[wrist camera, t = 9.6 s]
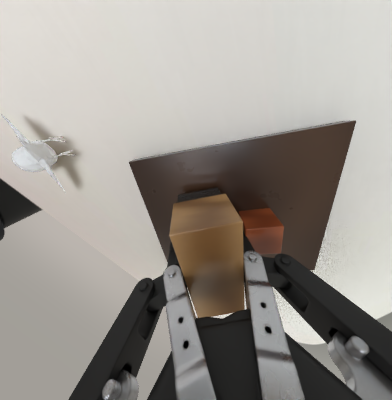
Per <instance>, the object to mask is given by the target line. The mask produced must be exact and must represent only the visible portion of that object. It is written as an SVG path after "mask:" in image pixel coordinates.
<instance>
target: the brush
mask: <svg viewBox="0 0 392 400" xmlns="http://www.w3.org/2000/svg"><path fill="white" fill-rule="evenodd" d="M169 236H170V239H171V242H172V245H173V248H174V250H175V253H176V256H177V259H178V262H179V265H180V268H181V270H182V273H183V276H184V279H185V282H186V285H187V287H188V290H189V293H190V296H191V299H192V302H193V304H194V307H195V310H196V313H197V316H198V318H202V317H212V316H218V315H223V314H229V313H234V312H236V311H240V310H244V255H243V221H242V219H241V218H240V216H239V214H238V213H237V211H236V210H235V208H234V206H233V205H232V203H231V202H230V200H229V198H228V197H227V195H226V194H221V193H220V191H219V189H218V187H216V188H211V189H206V190H201V191H195V192H190V193H185V194H180V195H178V199H177V203H174V204H173V210H172V218H171V226H170V233H169Z"/></svg>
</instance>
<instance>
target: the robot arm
mask: <svg viewBox="0 0 392 400" xmlns="http://www.w3.org/2000/svg"><path fill="white" fill-rule="evenodd" d="M243 255H244V287H245V296H246V306H247V309H246V310H240V311H236V312H235V313H233V314H231V315H229V316H227V317H225V318H223V319H220V318H213V317H202V318H196V316H195V313H194V310H193V307H192V303H191V300H190V296H189V293H188V290H187V285H186V282H185V279H184V276H183V273H182V270H181V268H180V265H179V262H178V259H177V256H176V253H175V250H174V248H173V245H172V242H171V243H170V249H169V257H168V266H167V268H166V269H165V271H164V273H163V275H161V276H160V277H158V278H156V279H154V280H152V279H150V278H144V279H142V280H141V281H139V282H138V284H137V285H136V286H135V288H134V290H133V291H132V293H131V295H130V297H129V298H128V300H127V302H126V303H125V305H124V307H123V308H122V310H121V312H120V313H119V315H118V317H117V319H116V320H115V322H114V324H113V325H112V327H111V329H110V330H109V332H108V334H107V335H106V337H105V339H104V340H103V342H102V344H101V346H100V347H99V349H98V351H97V353H96V354H95V356H94V357H93V359H92V361H91V363H90V364H89V366H88V368H87V369H86V371H85V373H84V374H83V376H82V378H81V379H80V381H79V383H78V385H77V386H76V388H75V390H74V391H73V393H72V395H71V396H70V398H69V400H137V397H138V390H139V385H138V381H137V379H136V376H137V374H138V371H139V369H140V366H141V363H142V361H143V358H144V356H145V353H146V350H147V348H148V345H149V343H150V340H151V337H152V334H153V332H154V329H155V327H156V324H157V322H158V319H159V316H160V314H161V311H162V309H163V307H164V306H166V312H167V319H168V326H169V334H170V341H171V348H172V351H171V353H170V355H169V357H168V360H167V361H166V363H165V365H164V367H163V369H162V371H161V373H160V375H159V377H158V379H157V381H156V383H155V385H154V387H153V389H152V391H151V393H150V395H149V397H148V399H147V400H392V332H391V331H390V330H389V329H387V328H386V327H385V326H383V325H382V324H381V323H379V322H378V321H377V320H375V319H374V318H373V317H371V316H370V315H369V314H367V313H366V312H365V311H363V310H362V309H361V308H359V307H358V306H357V305H355V304H354V303H353V302H351V301H350V300H349V299H347V298H346V297H345V296H343V295H342V294H341V293H339V292H338V291H337V290H335V289H334V288H333V287H331V286H330V285H329V284H327V283H326V282H325V281H323V280H322V279H321V278H319V277H318V276H317V275H315V274H314V273H313V272H311V271H310V270H309V269H307V268H306V267H305V266H303V265H302V264H301V263H299V262H298V261H297V260H295V259H294V258H293V257H291V256H289V255H287V254H277V255H276V256H275V258H270V257H264V256H261V255H260V254H259V253H257V252H256V251H255V250H254V248H253V246H252V245H251V243H250V241H249V239H248V238H247V236H245V234H244V231H243ZM272 287H274V288H275V289H276V290H277V291H278V292H279V293H280V294H281V295H282V296H283V297H284V299H285V300H286V301H287V302H288V303H289V304H290V305H291V306H292V307H293V308H294V309H295V310H296V311H297V312H298V313H299V314H300V315H301V316H302V318H303V319H304V320H305V321H306V322H307V323H308V324H309V325H310V326H311V327H312V328H313V329H314V330H315V331H316V332H317V333H318V334H319V335H320V337H321V338H322V339H323V340H324V341H325V342H326V343H327V344H328V352H329V355H330V357H331V359H332V360H333V362H334V363H335V365H336V366H337V367H338V368H339V370H340V371H341V373H342V375H343V377H344V379H345V382H346V384H344V383H343V382H342V381H341V380H340V379H338V378H337V377H336V376H335V375H334V374H333V373H332V372H330V371H329V370H328V369H327V368H326V367H325V366H323V365H322V364H321V363H320V362H319V361H318V360H317V359H315V358H314V357H313V356H312V355H311V354H310V353H308V352H307V351H306V350H305V349H304V348H303V347H302V346H300V345H299V344H298V343H297V342H296V341H295V340H293V339H292V338H291V337H290V336H289V335H288V334H287V333H285V332H284V329H283V325H282V322H281V318H280V314H279V311H278V307H277V303H276V300H275V296H274V292H273V289H272Z"/></svg>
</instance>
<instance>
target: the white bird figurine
mask: <svg viewBox="0 0 392 400" xmlns="http://www.w3.org/2000/svg"><path fill="white" fill-rule="evenodd" d="M1 115H2V114H1ZM2 116H3V115H2ZM3 118H4V119H5V120H6V121H7V122H8V124H9V125H10V126H11V127H12V129H13V130H14V132H15V133H16V134H17V136H18V137H17V138H18V139H19V140H20V142H21V143H22V145H23V146H24V147H20V148H18V149H17V150H15V151H14V152H13V153H12V161H13V162H14V163H15V165H17V166H18V167H19V168H20V169H22V170H25V171H30V172H38V171H42V170H44V169H45V170H46V171H47V172H48V173H49V174H50V175H51V177H52V178H53V179H54V180H55V181H56V182H57V183H58V184H59V185H60V186H61V184H60V182H59V181H58V179H57V178H56V176H55V175H54V173H53V172H52V170H51V167H52V165H53V164H54V163H56V162H57V159H58V156H62V155H69V156H76V155H75V154H67V153H70V152H73V150H70V151H67V152H64V153H60V154H59V155H56V153H55V151H54V150H53V149H52V148H51V147H50V146H49V145H48V144H46V143H45V142H46V141H51V140H54V141H58V142H66V141H63V140H58V139H60V138H63V136H60V137H53V138H51V137H49V139H47V140H41V141H39V140H36V141H29V140H27V139H26V138H25V137H24V136H23V135H22V134H21V132H20V131H19V130H18V129H17V128H16V127H15V126H14V125H13V124H12V123H11V122H10V121H9V120H8V119H6V118H5V117H4V116H3ZM61 187H62V186H61ZM62 189H63V187H62ZM63 190H64V189H63ZM65 193H66V192H65Z"/></svg>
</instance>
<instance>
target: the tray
mask: <svg viewBox="0 0 392 400" xmlns="http://www.w3.org/2000/svg"><path fill="white" fill-rule="evenodd" d="M355 123H356V121H341V122H336V123H330V124H325V125H320V126H314V127H309V128H303V129H298V130H292V131H287V132H281V133H276V134H271V135H265V136H260V137H254V138H249V139H243V140H238V141H232V142H227V143H222V144H216V145H211V146H205V147H200V148H194V149H189V150H184V151H178V152H173V153H167V154H162V155H156V156H151V157H145V158H140V159H135V160H132V161H130V162H129V164H130V167H131V169H132V172H133V174H134V177H135V179H136V182H137V185H138V187H139V190H140V192H141V195H142V198H143V200H144V203H145V205H146V208H147V210H148V213H149V216H150V218H151V221H152V223H153V226H154V229H155V231H156V234H157V236H158V239H159V241H160V244H161V247H162V249H163V252H164V254H165V257H166V259H167V262H168V257H169V249H170V243H171V239H170V236H169V233H170V226H171V218H172V210H173V204H174V203H177V199H178V195H180V194H185V193H190V192H195V191H201V190H206V189H211V188H216V187H218V189H219V191H220V193H221V194H226V195H227V197H228V198H229V200H230V202H231V203H232V205H233V206H234V208H235V210H236V211H237V213H238V214H239V211H245V210H254V209H264V208H270V209H271V210H272V212H273V213H274V214H275V215H276V217H277V218H278V219H279V221H280V222H281V223H282V224H283V226H284V231H283V240H282V249H281V253H278V254H287V255H289V256H291V257H293V258H294V259H295V260H297V261H298V262H299V263H301V264H302V265H303V266H305V267H306V268H307V269H309V270H314V269H315V266H316V262H317V259H318V255H319V251H320V248H321V244H322V241H323V237H324V234H325V230H326V227H327V223H328V219H329V216H330V212H331V209H332V205H333V202H334V198H335V195H336V191H337V187H338V184H339V180H340V177H341V173H342V170H343V166H344V163H345V159H346V155H347V152H348V148H349V145H350V141H351V138H352V134H353V131H354V127H355ZM276 255H277V254H261V256H264V257H270V258H275V256H276Z"/></svg>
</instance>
